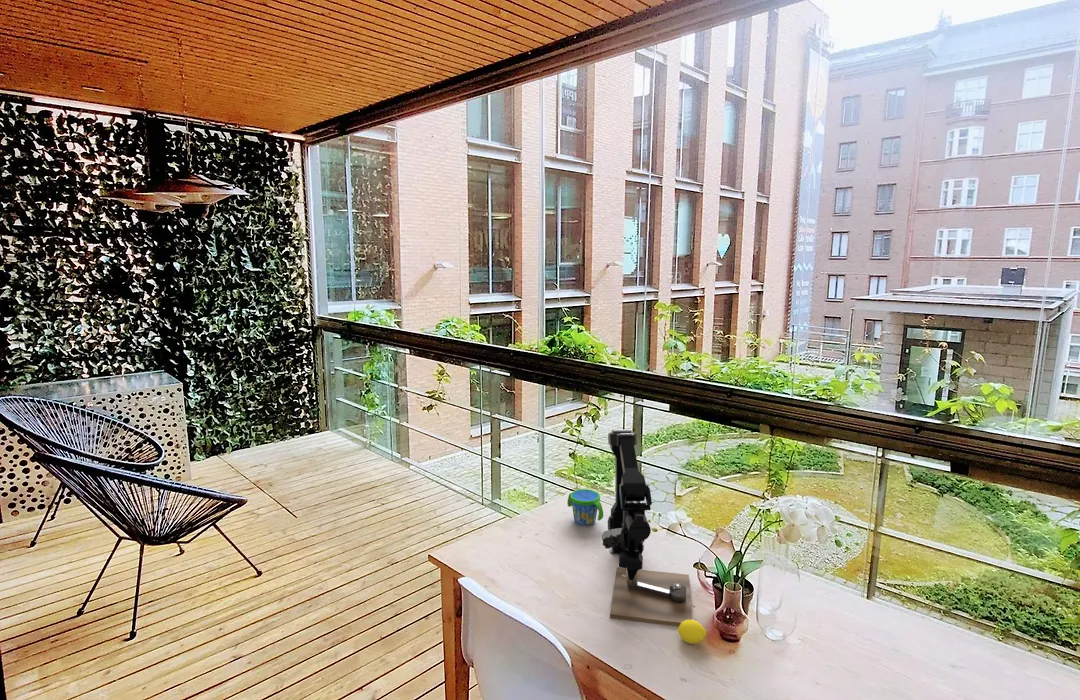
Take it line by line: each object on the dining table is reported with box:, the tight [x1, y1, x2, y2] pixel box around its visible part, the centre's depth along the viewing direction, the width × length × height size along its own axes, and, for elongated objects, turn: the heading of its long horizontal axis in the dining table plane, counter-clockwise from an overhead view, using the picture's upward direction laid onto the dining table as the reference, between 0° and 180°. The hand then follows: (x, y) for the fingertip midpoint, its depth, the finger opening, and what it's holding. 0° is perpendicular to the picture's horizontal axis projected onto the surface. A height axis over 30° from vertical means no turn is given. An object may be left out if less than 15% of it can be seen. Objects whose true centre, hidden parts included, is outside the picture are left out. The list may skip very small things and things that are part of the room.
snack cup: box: [566, 488, 604, 527], centre depth 202 cm, size 16×10×10 cm
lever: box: [626, 568, 686, 603], centre depth 157 cm, size 17×4×7 cm, turn 63°
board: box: [609, 566, 693, 628], centre depth 158 cm, size 23×21×1 cm
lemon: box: [677, 619, 708, 645], centre depth 139 cm, size 7×5×5 cm
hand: (631, 575), depth 160 cm, fingers open, 4 cm apart
